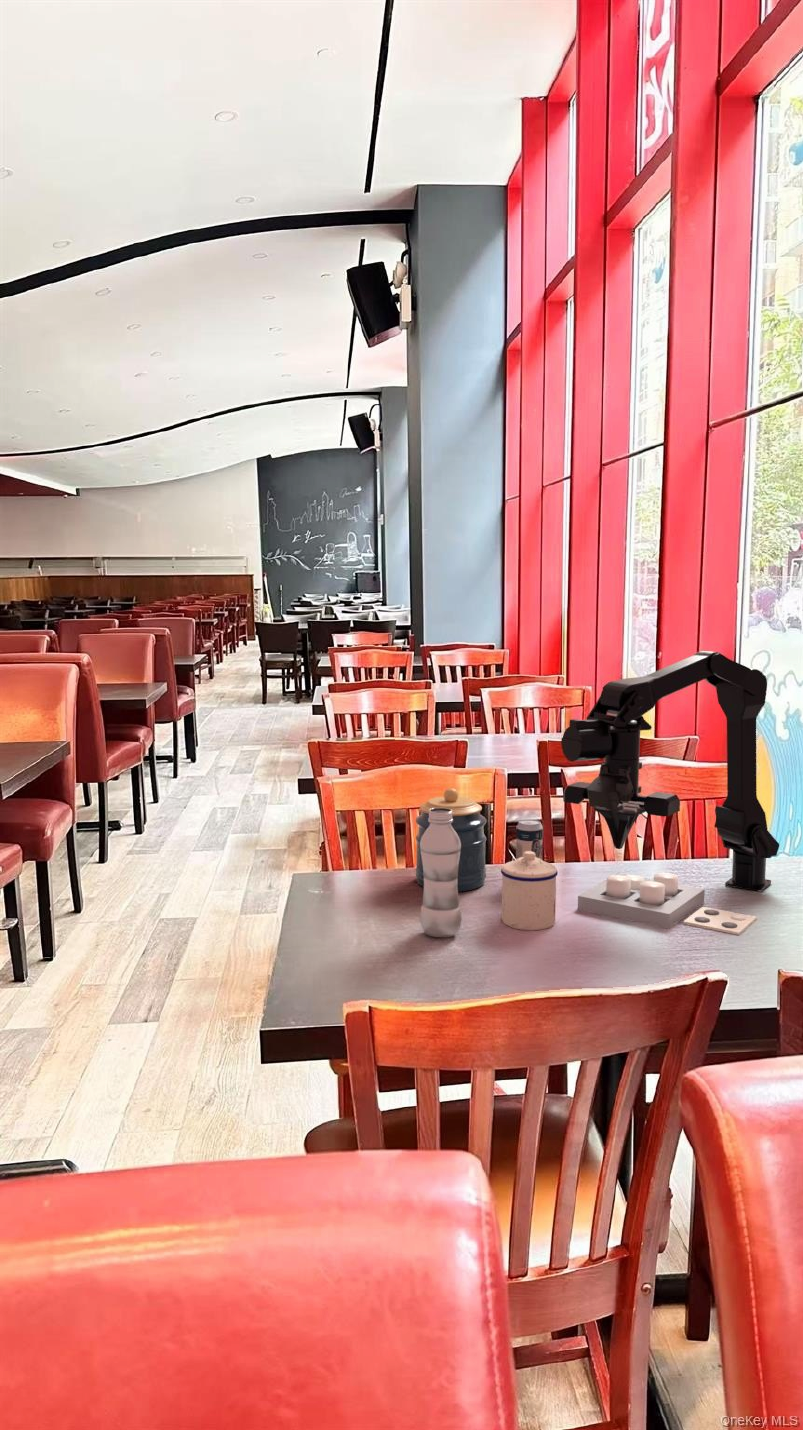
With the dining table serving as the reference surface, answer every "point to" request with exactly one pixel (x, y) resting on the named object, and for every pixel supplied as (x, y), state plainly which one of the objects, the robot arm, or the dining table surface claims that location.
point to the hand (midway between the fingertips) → (618, 848)
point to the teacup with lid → (528, 893)
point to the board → (642, 905)
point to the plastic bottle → (440, 875)
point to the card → (720, 920)
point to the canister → (469, 833)
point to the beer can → (529, 838)
